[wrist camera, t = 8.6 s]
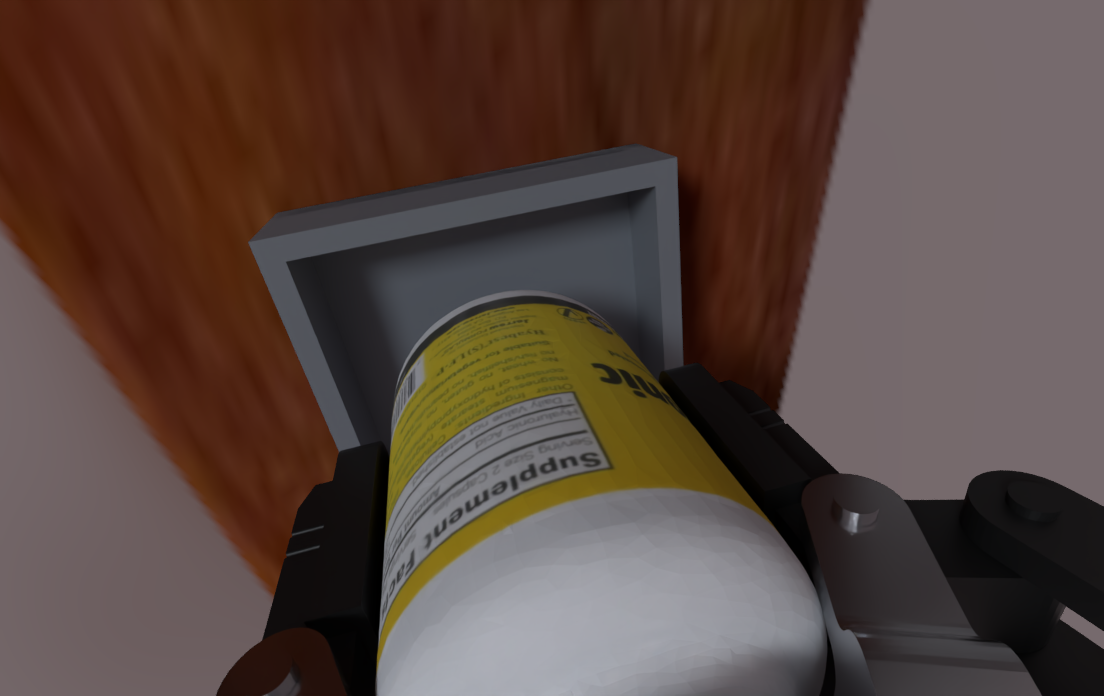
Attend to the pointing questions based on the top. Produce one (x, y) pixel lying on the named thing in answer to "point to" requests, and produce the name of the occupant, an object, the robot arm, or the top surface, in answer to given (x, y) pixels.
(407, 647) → the supplement bottle
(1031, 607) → the robot arm
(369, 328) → the tray
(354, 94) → the top surface
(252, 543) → the top surface
